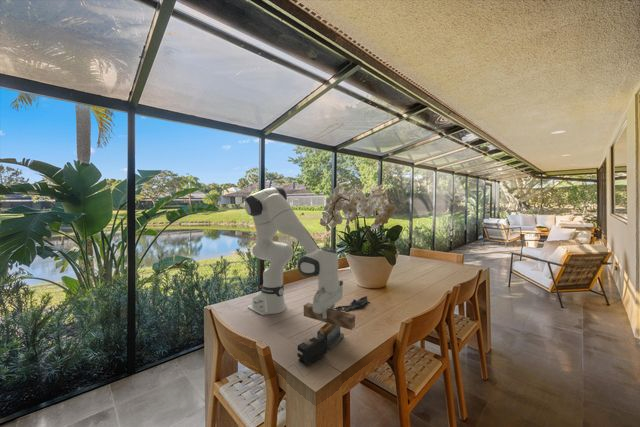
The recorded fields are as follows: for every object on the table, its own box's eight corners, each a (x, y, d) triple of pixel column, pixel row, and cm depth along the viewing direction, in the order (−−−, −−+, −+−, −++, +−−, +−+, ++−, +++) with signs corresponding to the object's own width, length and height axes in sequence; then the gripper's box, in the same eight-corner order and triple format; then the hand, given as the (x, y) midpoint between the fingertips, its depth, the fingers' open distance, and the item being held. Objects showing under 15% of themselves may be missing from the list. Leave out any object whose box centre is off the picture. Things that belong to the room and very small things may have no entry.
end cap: (309, 369, 95) (308, 351, 95) (296, 361, 100) (296, 344, 100) (327, 358, 102) (327, 341, 102) (315, 350, 107) (315, 334, 107)
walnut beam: (354, 326, 109) (355, 314, 109) (351, 330, 106) (351, 318, 106) (308, 313, 121) (308, 302, 121) (303, 316, 119) (303, 305, 118)
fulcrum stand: (313, 345, 111) (313, 327, 111) (328, 332, 122) (328, 315, 122) (329, 350, 107) (329, 332, 106) (343, 336, 118) (343, 319, 117)
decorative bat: (345, 309, 138) (332, 304, 146) (345, 316, 138) (332, 312, 146) (379, 295, 158) (366, 292, 165) (379, 302, 158) (366, 299, 165)
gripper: (321, 293, 102) (322, 327, 103) (345, 280, 120) (344, 309, 120) (308, 290, 106) (308, 323, 106) (333, 277, 123) (333, 306, 124)
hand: (328, 315), depth 114 cm, fingers closed on walnut beam, 3 cm apart
